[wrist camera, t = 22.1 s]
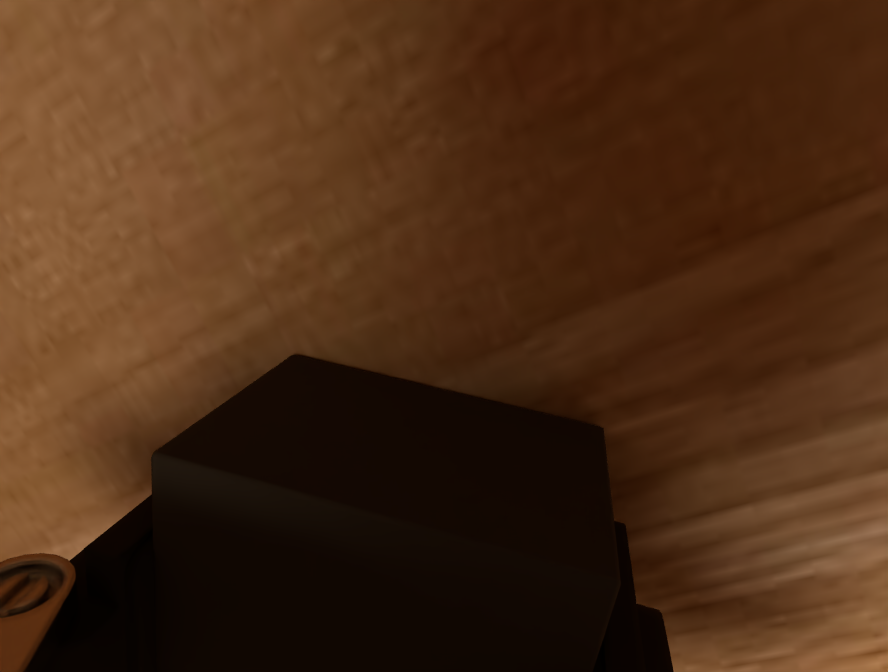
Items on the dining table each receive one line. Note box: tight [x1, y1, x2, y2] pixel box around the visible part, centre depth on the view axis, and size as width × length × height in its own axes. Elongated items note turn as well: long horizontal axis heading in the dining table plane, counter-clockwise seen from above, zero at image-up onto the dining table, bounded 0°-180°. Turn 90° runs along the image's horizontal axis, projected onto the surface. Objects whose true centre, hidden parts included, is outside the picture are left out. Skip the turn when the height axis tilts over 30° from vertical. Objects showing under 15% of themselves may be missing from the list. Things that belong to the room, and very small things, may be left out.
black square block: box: [151, 355, 621, 672], centre depth 10 cm, size 6×6×4 cm
